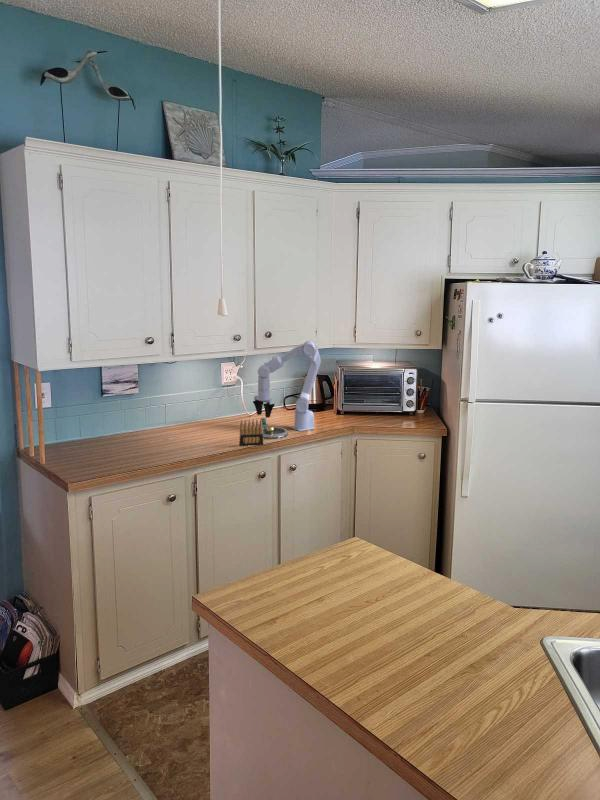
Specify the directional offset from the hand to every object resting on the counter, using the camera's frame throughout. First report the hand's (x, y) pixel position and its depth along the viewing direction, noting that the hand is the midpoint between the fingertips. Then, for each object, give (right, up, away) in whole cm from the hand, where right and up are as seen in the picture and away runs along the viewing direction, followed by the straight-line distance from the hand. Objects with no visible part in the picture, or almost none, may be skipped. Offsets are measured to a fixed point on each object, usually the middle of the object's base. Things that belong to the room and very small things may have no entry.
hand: (263, 415), depth 327 cm
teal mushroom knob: (0, -6, +1) cm, 6 cm away
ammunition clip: (-4, -13, -31) cm, 34 cm away
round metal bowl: (+4, -9, -12) cm, 15 cm away
